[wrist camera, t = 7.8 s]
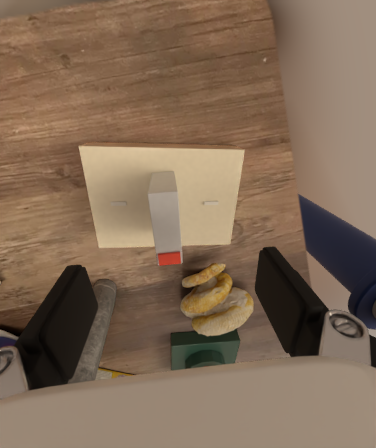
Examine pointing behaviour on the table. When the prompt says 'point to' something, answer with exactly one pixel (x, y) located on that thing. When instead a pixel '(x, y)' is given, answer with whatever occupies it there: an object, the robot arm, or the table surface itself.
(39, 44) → the table surface
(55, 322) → the robot arm
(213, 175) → the block
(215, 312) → the cream yellow lumpy piece
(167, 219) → the tap handle
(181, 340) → the button box
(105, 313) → the flask
